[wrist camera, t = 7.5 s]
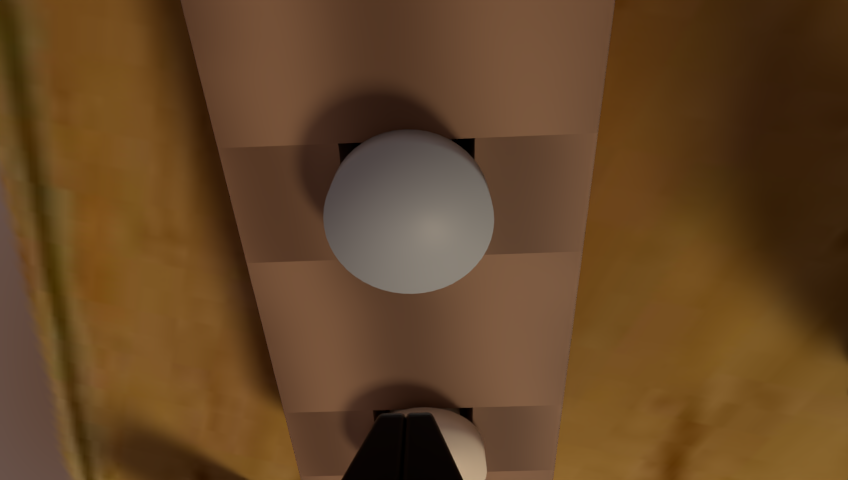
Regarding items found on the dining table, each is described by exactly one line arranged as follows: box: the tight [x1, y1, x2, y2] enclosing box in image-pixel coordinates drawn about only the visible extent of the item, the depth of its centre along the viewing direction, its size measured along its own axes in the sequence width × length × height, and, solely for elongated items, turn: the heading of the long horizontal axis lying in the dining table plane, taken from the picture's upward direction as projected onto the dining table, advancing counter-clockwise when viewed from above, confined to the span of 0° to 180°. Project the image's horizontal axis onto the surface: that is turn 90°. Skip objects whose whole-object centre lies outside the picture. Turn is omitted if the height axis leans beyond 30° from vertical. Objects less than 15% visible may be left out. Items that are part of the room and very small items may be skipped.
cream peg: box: [390, 407, 487, 480], centre depth 21 cm, size 4×4×6 cm
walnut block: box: [181, 0, 615, 480], centre depth 19 cm, size 10×22×5 cm, turn 2°
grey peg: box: [323, 129, 494, 294], centre depth 16 cm, size 4×4×6 cm
